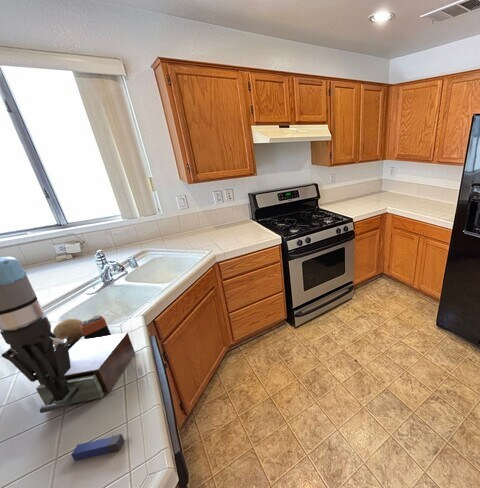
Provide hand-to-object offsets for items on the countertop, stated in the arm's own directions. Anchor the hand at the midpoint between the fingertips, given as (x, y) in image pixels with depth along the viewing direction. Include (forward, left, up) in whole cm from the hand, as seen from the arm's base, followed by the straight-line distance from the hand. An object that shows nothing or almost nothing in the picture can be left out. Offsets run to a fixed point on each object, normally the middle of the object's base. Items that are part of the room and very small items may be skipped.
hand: (62, 396), depth 69 cm
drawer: (0, +7, -5) cm, 9 cm away
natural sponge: (-19, +34, -6) cm, 40 cm away
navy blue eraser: (+14, -14, -6) cm, 20 cm away
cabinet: (0, +12, -6) cm, 14 cm away
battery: (-10, +32, -6) cm, 35 cm away
